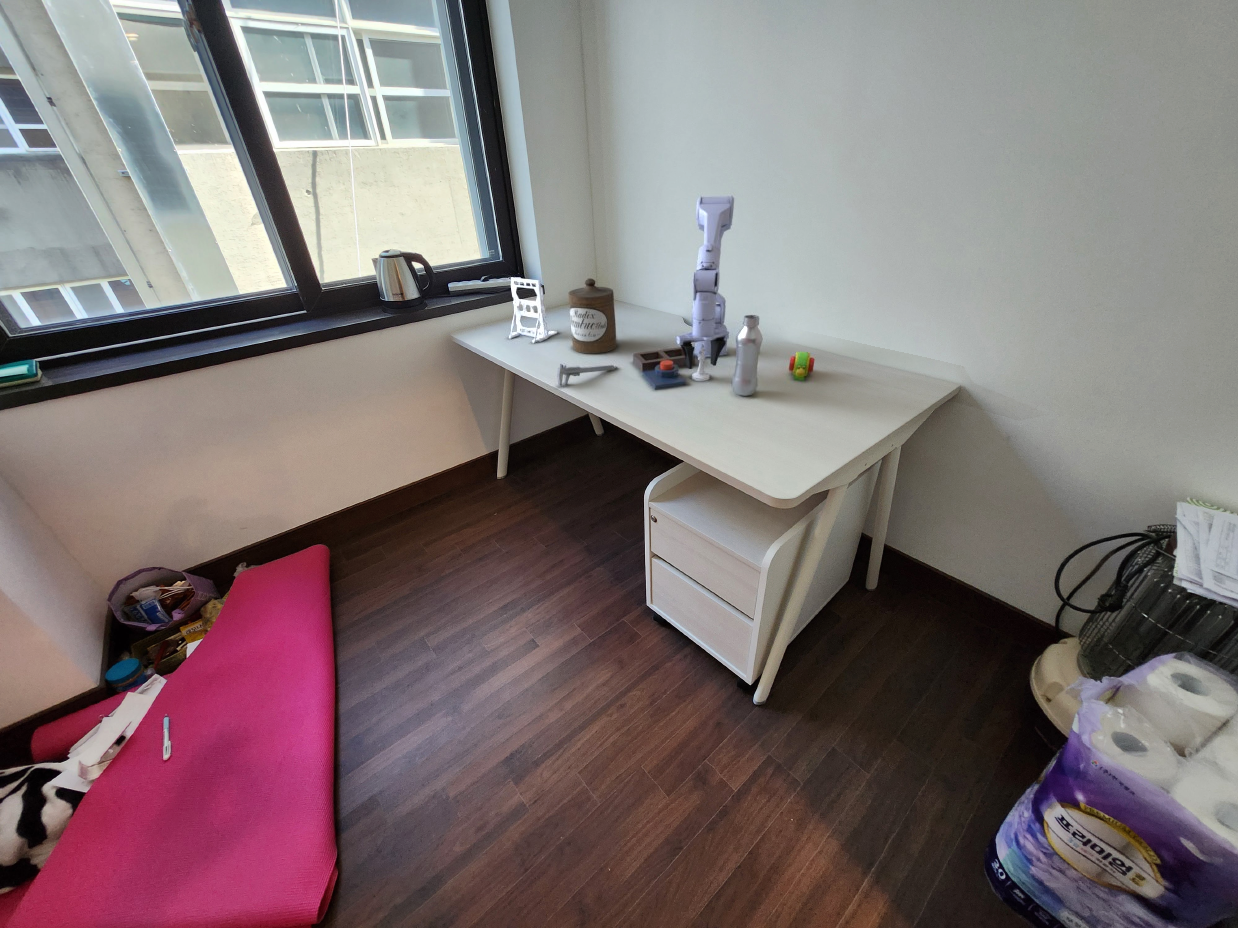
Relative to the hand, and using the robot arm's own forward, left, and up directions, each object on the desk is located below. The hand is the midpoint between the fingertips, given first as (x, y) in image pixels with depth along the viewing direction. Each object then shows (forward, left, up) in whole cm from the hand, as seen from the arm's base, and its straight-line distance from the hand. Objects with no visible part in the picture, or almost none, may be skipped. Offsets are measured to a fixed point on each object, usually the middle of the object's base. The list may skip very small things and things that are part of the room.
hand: (701, 366), depth 135 cm
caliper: (+30, -12, -4) cm, 33 cm away
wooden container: (+22, -38, -4) cm, 44 cm away
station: (+10, -2, -3) cm, 11 cm away
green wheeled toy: (-29, +5, -4) cm, 30 cm away
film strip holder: (+40, -59, -4) cm, 71 cm away
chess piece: (0, 0, -4) cm, 4 cm away
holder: (+6, -14, -3) cm, 16 cm away
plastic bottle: (-6, +14, -4) cm, 16 cm away
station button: (+9, -3, -1) cm, 10 cm away
